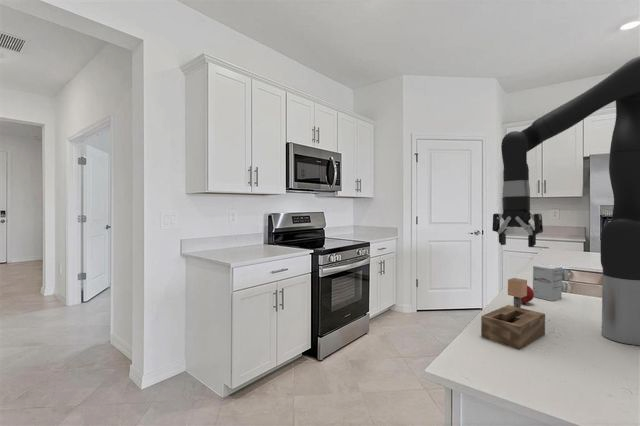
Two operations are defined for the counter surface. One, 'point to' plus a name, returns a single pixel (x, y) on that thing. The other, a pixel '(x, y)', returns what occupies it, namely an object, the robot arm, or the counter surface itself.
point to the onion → (528, 295)
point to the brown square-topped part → (517, 290)
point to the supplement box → (547, 282)
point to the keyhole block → (513, 326)
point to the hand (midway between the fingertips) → (516, 245)
